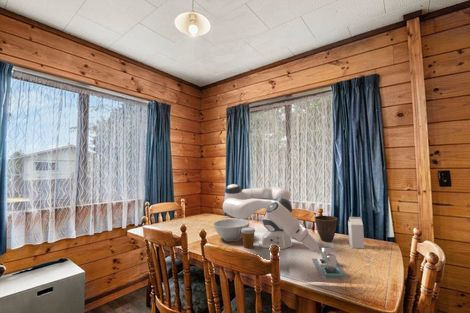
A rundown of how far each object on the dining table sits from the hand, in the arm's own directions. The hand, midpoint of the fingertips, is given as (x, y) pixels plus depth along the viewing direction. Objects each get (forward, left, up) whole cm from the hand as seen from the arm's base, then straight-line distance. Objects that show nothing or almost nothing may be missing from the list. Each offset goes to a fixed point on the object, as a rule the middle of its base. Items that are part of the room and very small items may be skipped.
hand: (315, 249), depth 111 cm
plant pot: (+17, +57, -14) cm, 61 cm away
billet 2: (+7, +2, -12) cm, 14 cm away
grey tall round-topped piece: (+7, +13, -12) cm, 19 cm away
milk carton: (+33, +46, -14) cm, 58 cm away
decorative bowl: (-51, +56, -14) cm, 77 cm away
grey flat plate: (+7, +8, -13) cm, 17 cm away
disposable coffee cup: (-37, +40, -14) cm, 56 cm away
